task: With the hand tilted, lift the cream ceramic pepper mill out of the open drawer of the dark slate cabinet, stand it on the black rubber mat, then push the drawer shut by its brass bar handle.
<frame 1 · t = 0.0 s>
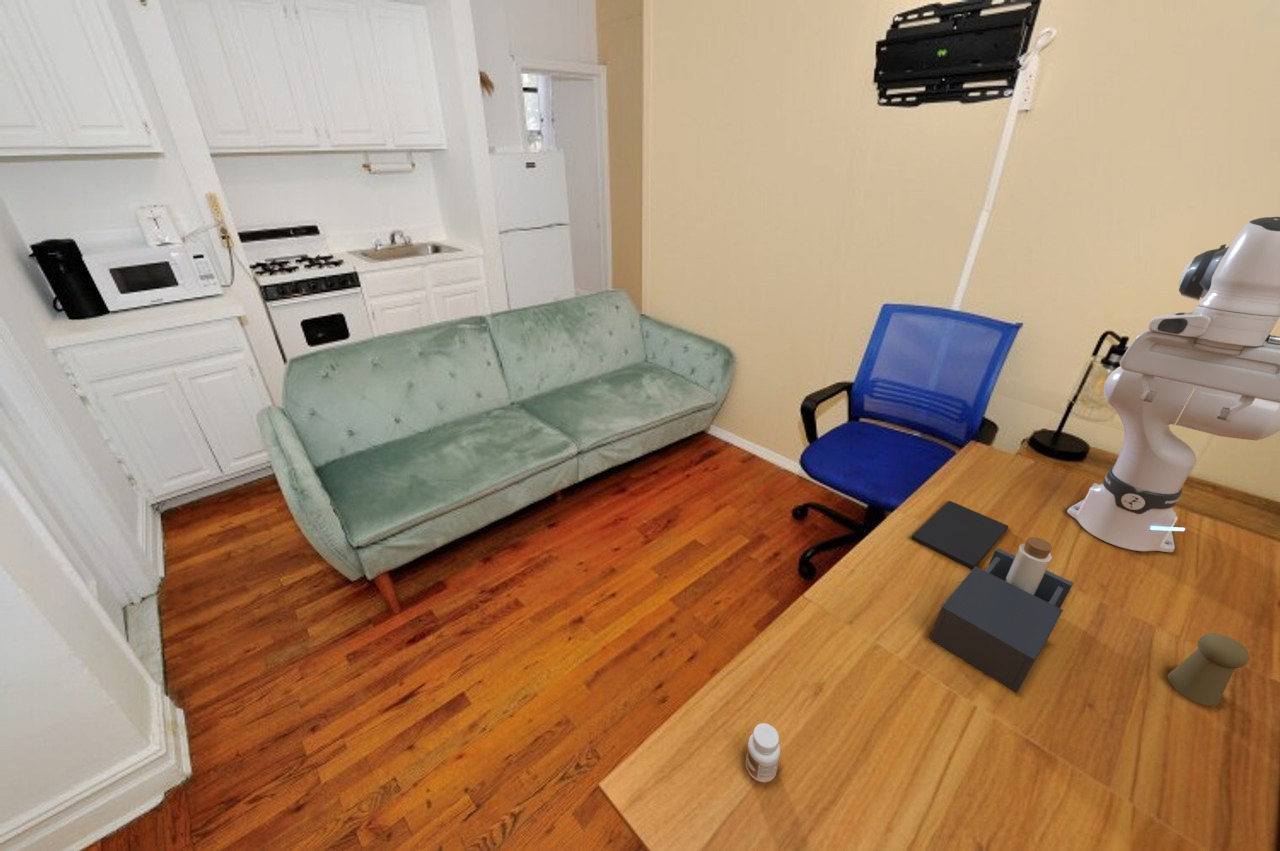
hand: (1182, 409, 85), 39 cm above the table, tool pointing down, fingers open, 8 cm apart
pill bottle: (760, 767, 73), on the table
pepper mill: (1013, 599, 96), point 2 cm above the table, touching drawer
mat: (959, 533, 116), on the table
cabinet: (987, 640, 91), on the table
drawer: (1019, 588, 96), point 4 cm above the table, slide at 9.0 cm, touching pepper mill
cork: (1192, 689, 82), on the table
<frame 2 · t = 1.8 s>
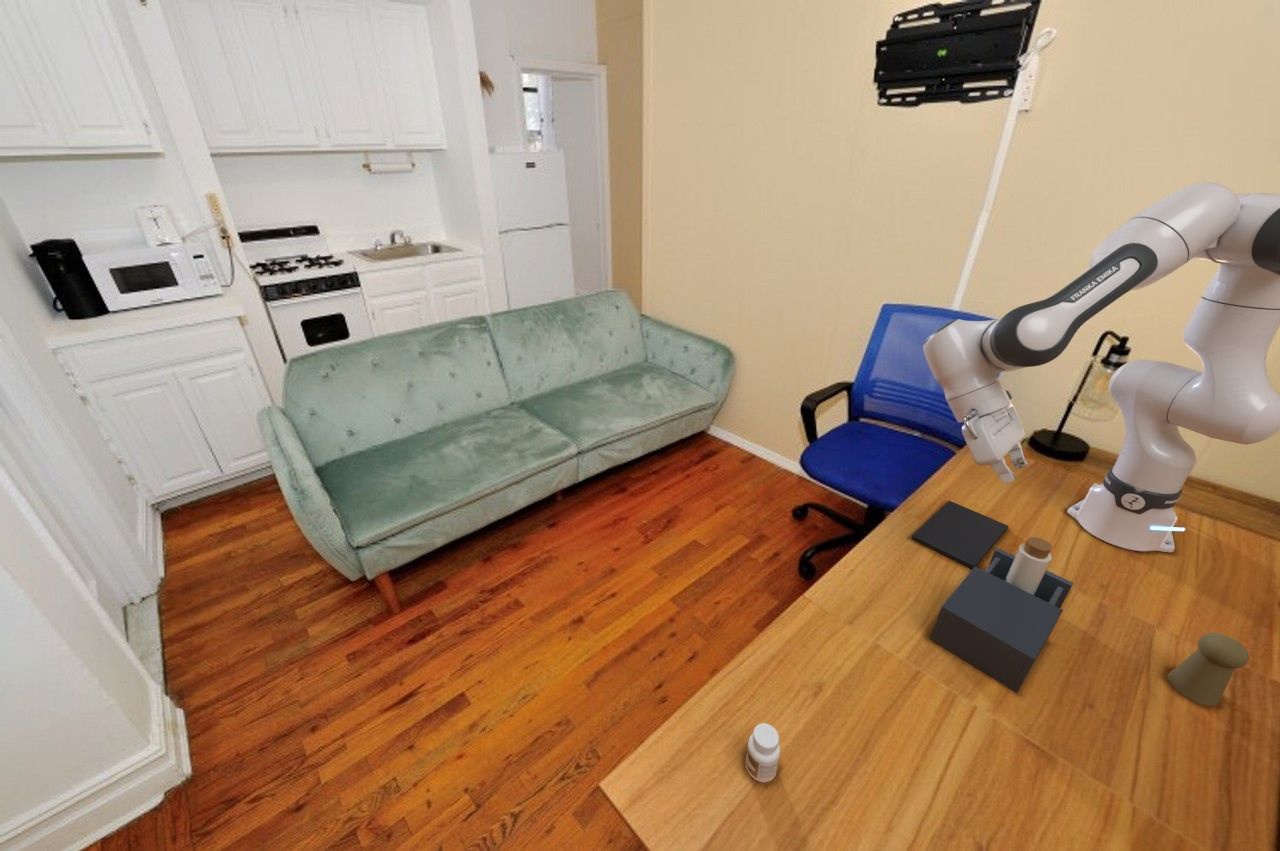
hand: (1016, 474, 91), 26 cm above the table, tool tilted 40°, fingers open, 8 cm apart
nothing on the table moved.
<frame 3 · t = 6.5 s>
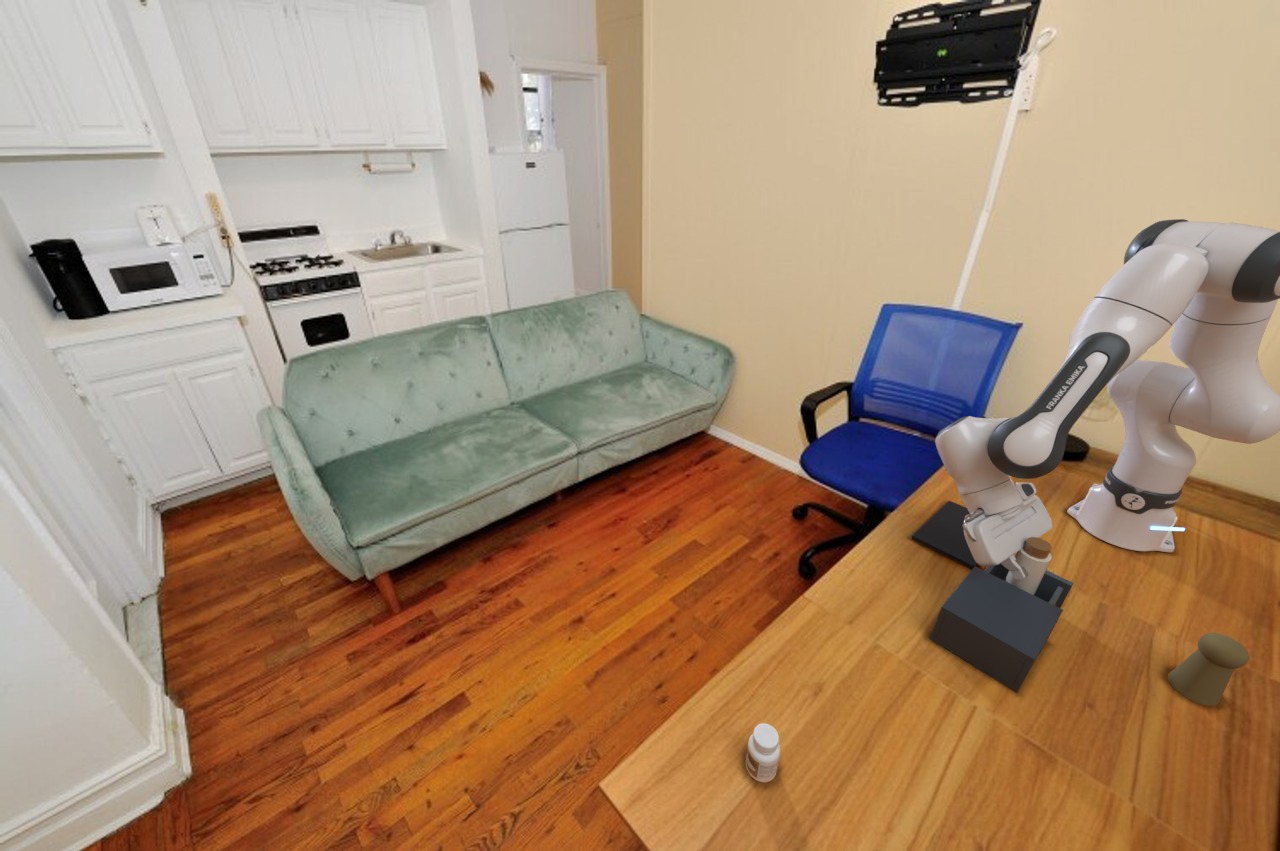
hand: (1031, 571, 92), 10 cm above the table, tool tilted 45°, fingers closed on pepper mill, 5 cm apart
pepper mill: (1013, 599, 96), point 2 cm above the table, touching drawer, gripper
everything else where it was.
when the fingers open (9 cm above the table, at t = 15.8 s): pepper mill stays where it is, resting on mat.
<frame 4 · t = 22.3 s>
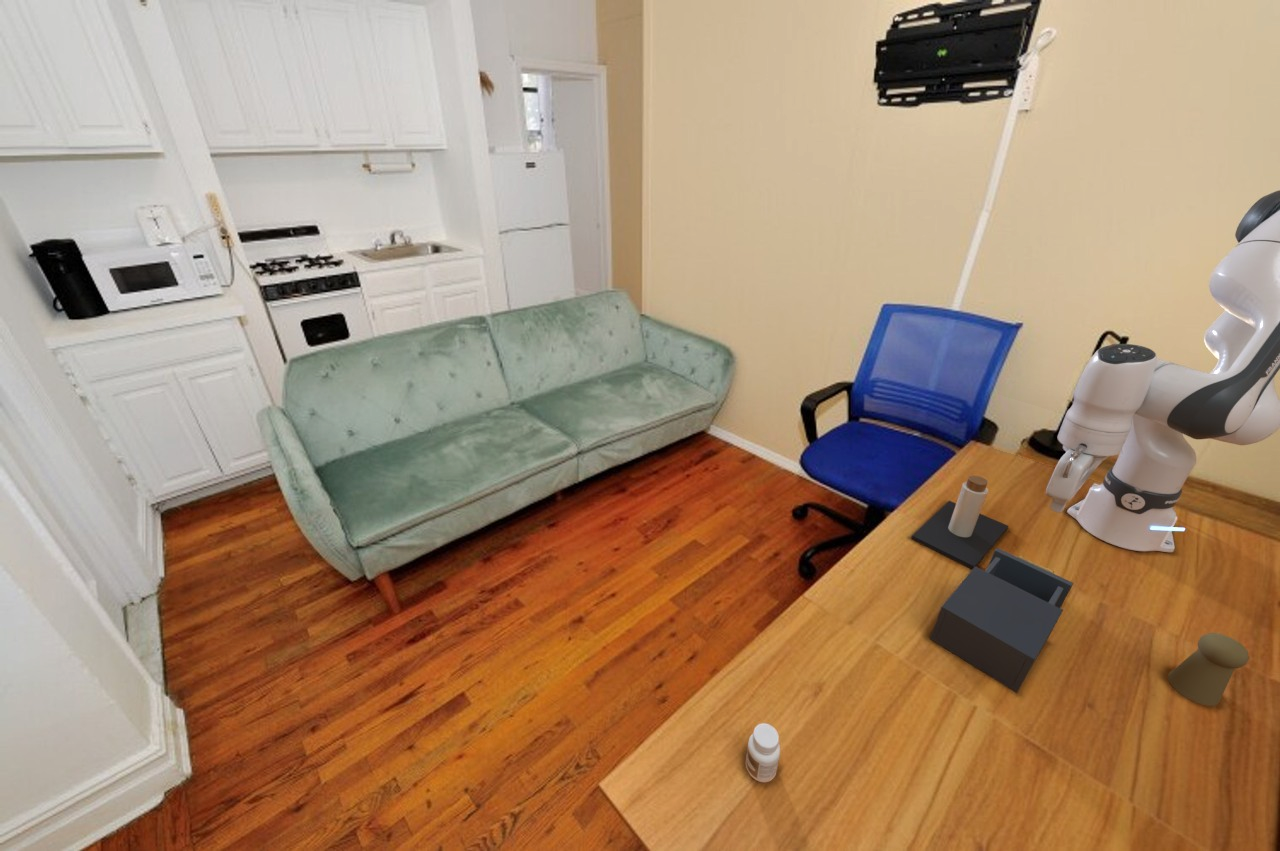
hand: (1064, 499, 96), 19 cm above the table, tool pointing down, fingers open, 8 cm apart
pepper mill: (960, 530, 115), point 1 cm above the table, touching mat
drawer: (1019, 588, 96), point 4 cm above the table, slide at 9.0 cm
everything else where it was.
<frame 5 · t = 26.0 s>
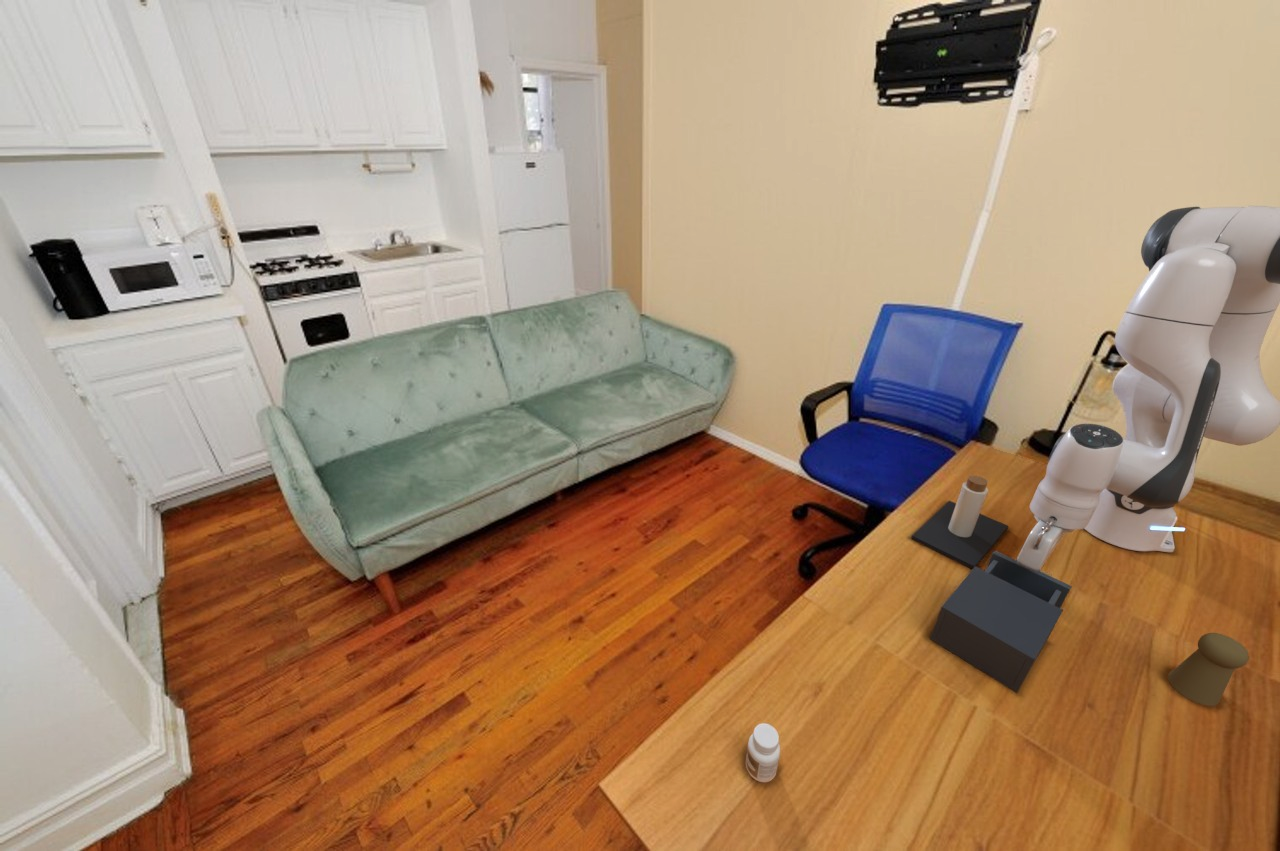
hand: (1034, 564, 100), 5 cm above the table, tool pointing down, fingers closed
drawer: (1017, 591, 95), point 4 cm above the table, slide at 7.7 cm, touching gripper
everything else where it was.
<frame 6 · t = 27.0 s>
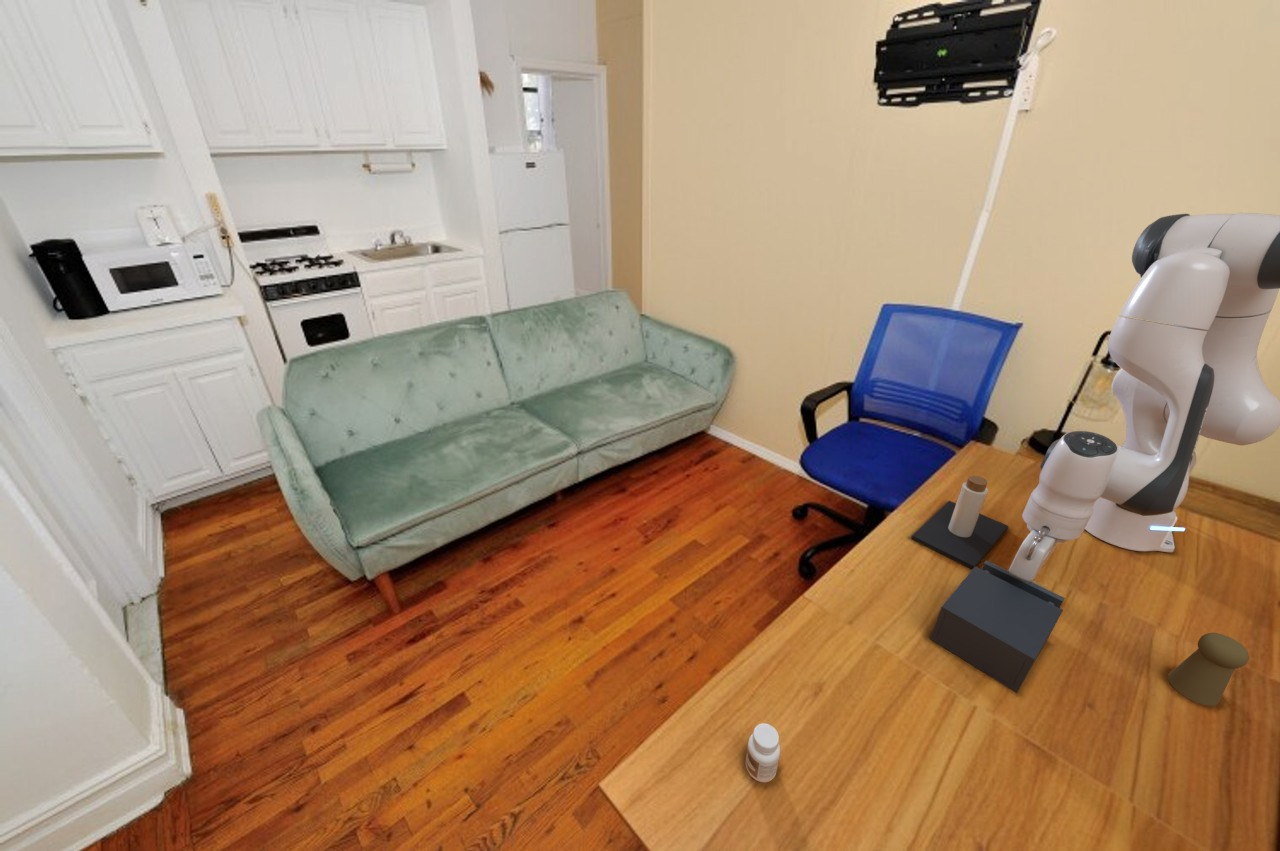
hand: (1026, 574, 98), 5 cm above the table, tool pointing down, fingers closed
drawer: (1009, 603, 93), point 4 cm above the table, slide at 3.5 cm, touching gripper
everything else where it was.
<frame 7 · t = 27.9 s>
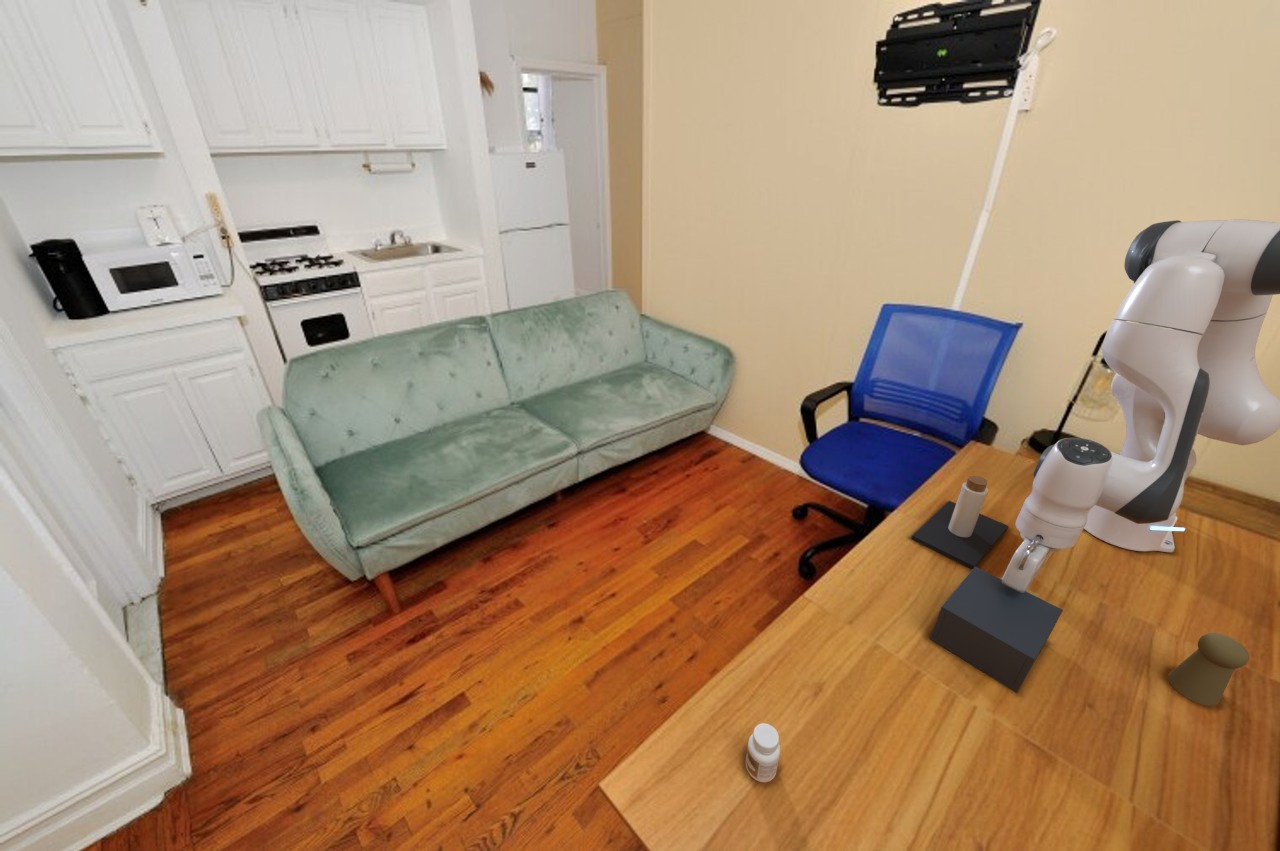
hand: (1020, 583, 96), 5 cm above the table, tool pointing down, fingers closed, pressing on drawer
drawer: (1002, 613, 91), point 4 cm above the table, slide at 0.0 cm, touching cabinet, gripper
everything else where it was.
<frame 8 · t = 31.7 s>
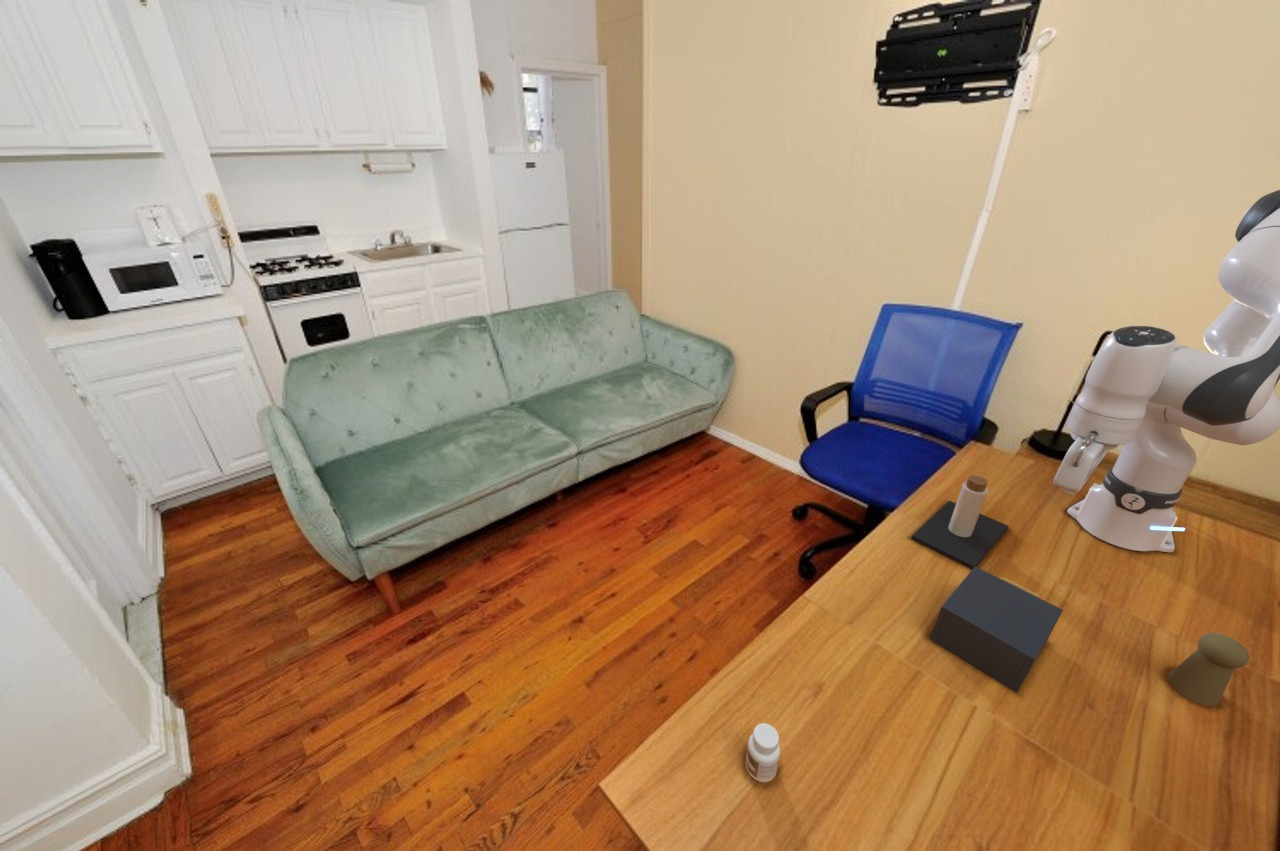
hand: (1070, 490, 91), 23 cm above the table, tool pointing down, fingers closed
drawer: (1002, 613, 91), point 4 cm above the table, slide at 0.0 cm, touching cabinet
everything else where it was.
at the end: pepper mill inside the target area on the mat (0.1 cm from its centre), point 1.0 cm above the mat's base; pepper mill tilted 0°; drawer slide at 0.0 cm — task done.
